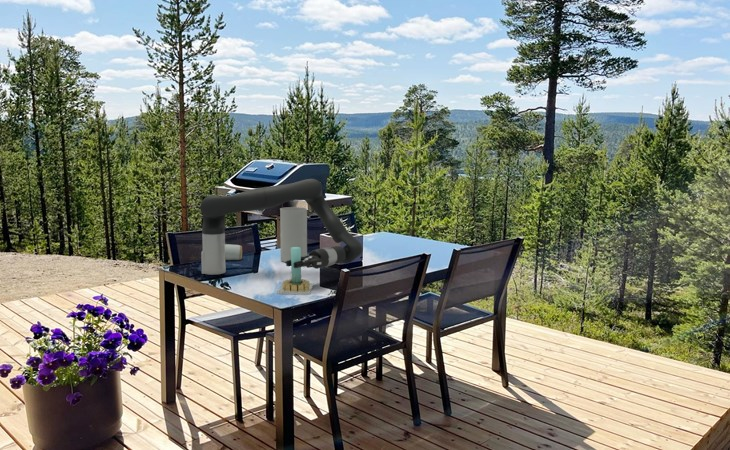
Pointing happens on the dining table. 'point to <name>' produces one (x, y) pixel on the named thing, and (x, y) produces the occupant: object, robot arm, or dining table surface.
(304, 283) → the golden segmented cake
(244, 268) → the dining table surface
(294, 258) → the pin
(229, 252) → the ceramic mug
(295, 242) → the cylinder vase
